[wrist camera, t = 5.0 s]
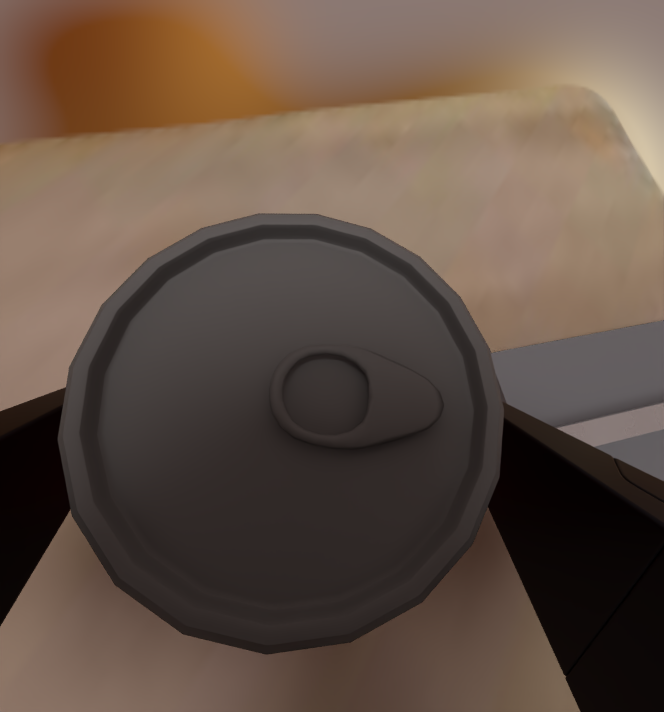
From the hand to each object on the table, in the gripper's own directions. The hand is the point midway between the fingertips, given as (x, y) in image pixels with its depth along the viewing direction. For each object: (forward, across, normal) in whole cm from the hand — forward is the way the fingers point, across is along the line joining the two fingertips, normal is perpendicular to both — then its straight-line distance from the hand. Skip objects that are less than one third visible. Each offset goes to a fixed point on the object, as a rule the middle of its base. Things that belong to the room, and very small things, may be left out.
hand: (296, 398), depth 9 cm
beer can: (+5, 0, +6) cm, 7 cm away
